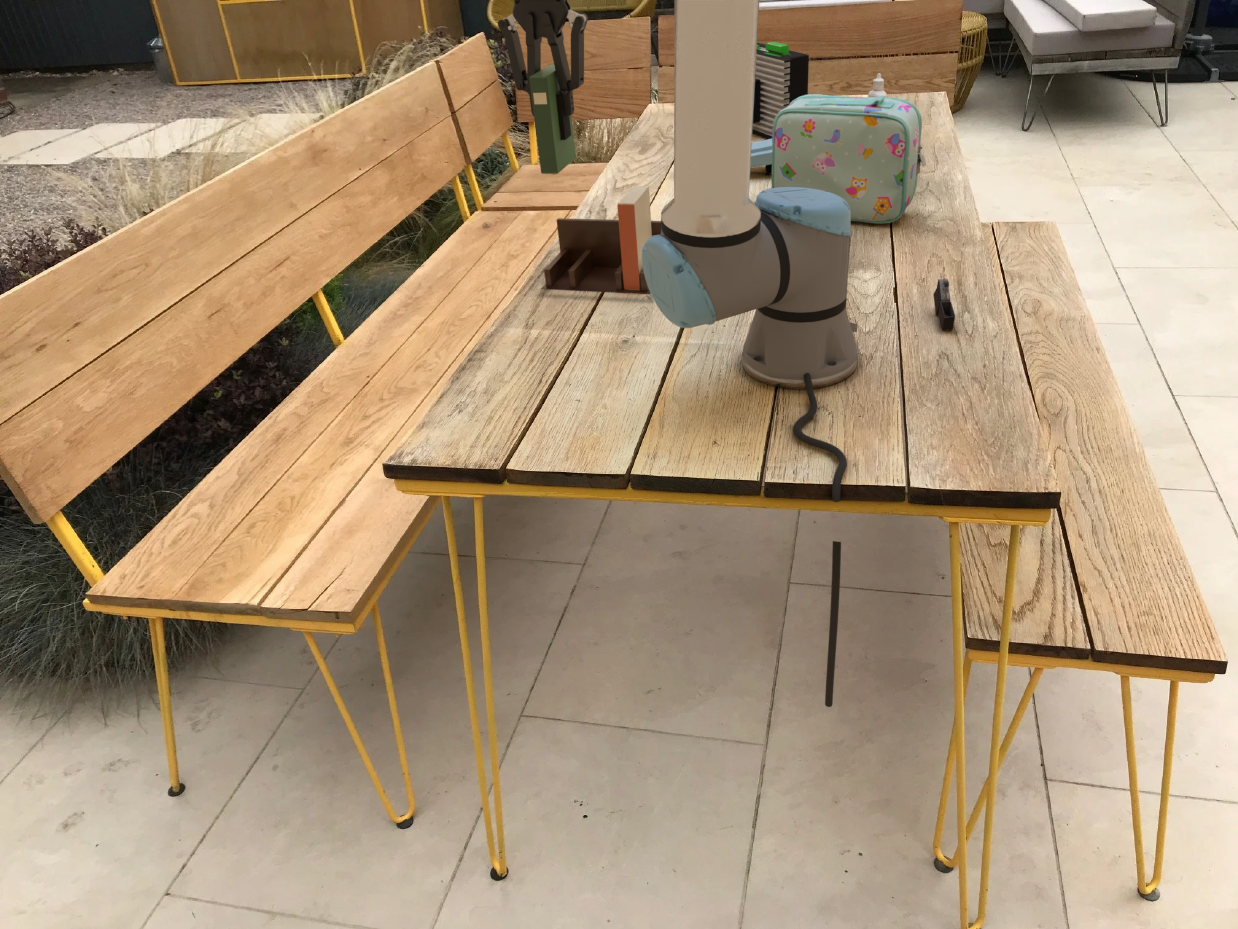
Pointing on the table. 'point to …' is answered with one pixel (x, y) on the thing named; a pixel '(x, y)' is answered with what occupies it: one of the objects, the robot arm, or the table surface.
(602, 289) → the book rack
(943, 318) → the black narrow holder
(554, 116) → the green book
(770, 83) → the electronic device
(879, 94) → the eye dropper bottle
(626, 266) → the cream book
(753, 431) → the table surface
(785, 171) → the lunch box
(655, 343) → the table surface
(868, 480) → the table surface
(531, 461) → the table surface
